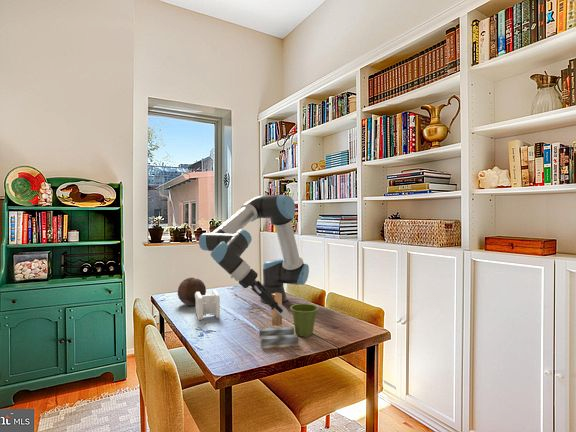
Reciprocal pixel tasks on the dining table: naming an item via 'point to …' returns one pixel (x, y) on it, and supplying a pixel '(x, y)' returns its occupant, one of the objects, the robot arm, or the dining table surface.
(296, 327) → the plant pot
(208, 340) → the dining table surface
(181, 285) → the wooden sphere
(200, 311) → the cable organizer
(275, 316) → the copper pin
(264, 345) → the notch board
